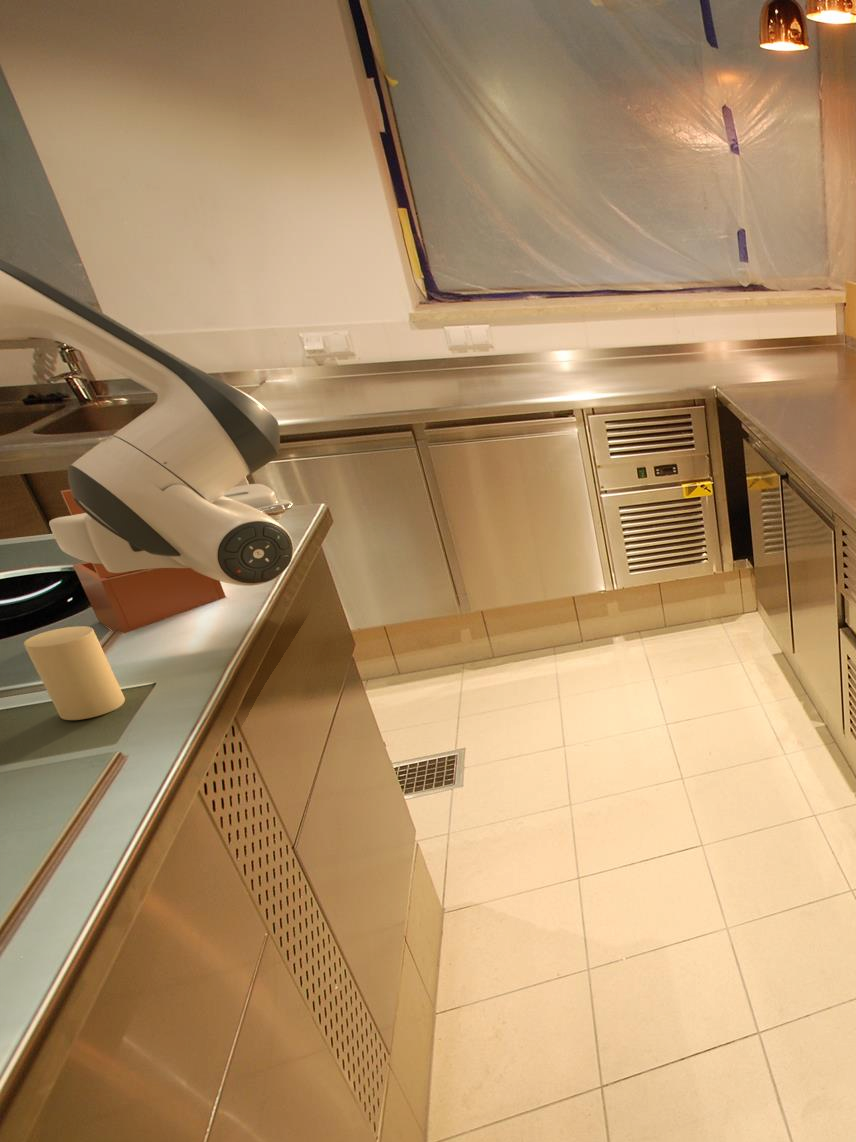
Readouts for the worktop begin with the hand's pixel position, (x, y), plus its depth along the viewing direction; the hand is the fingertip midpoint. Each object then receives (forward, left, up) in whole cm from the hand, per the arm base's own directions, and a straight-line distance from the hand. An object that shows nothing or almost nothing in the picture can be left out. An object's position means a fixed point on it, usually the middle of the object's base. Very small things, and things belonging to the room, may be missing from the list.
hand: (150, 506), depth 103 cm
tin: (0, +12, -18) cm, 22 cm away
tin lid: (0, +7, -4) cm, 8 cm away
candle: (-14, -11, -18) cm, 26 cm away
